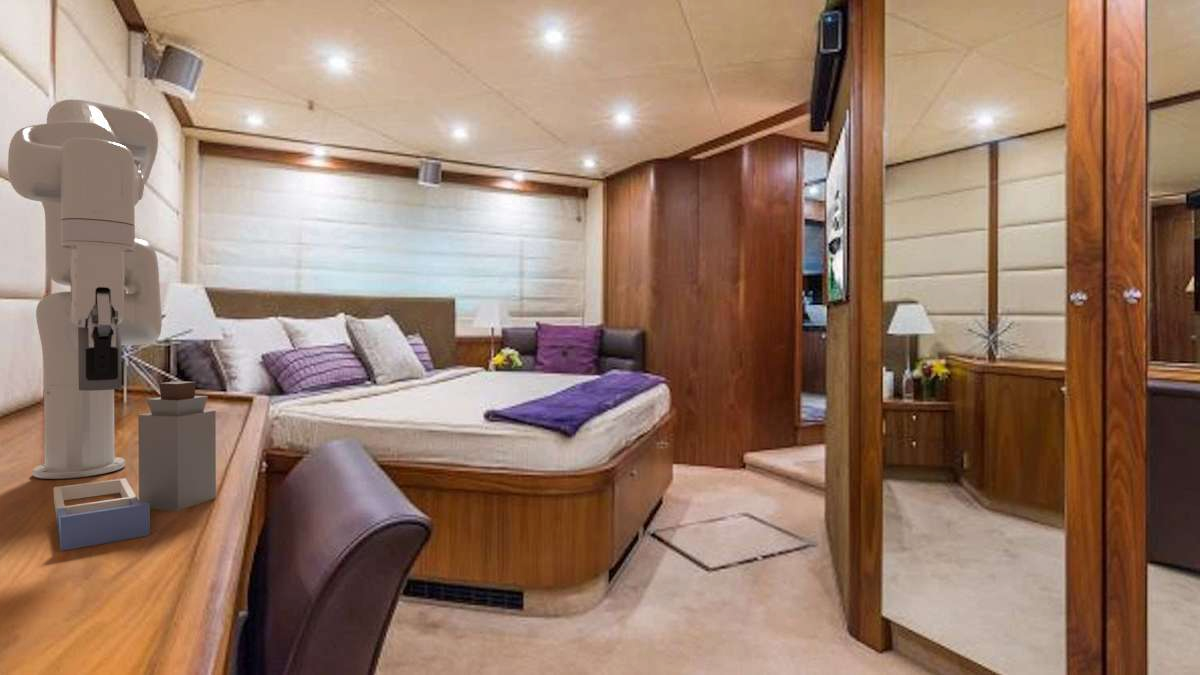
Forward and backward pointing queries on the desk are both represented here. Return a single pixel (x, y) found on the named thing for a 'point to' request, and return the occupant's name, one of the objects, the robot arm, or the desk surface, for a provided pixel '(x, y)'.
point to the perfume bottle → (177, 449)
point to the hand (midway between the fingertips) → (100, 376)
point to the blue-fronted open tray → (99, 514)
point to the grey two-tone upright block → (82, 347)
